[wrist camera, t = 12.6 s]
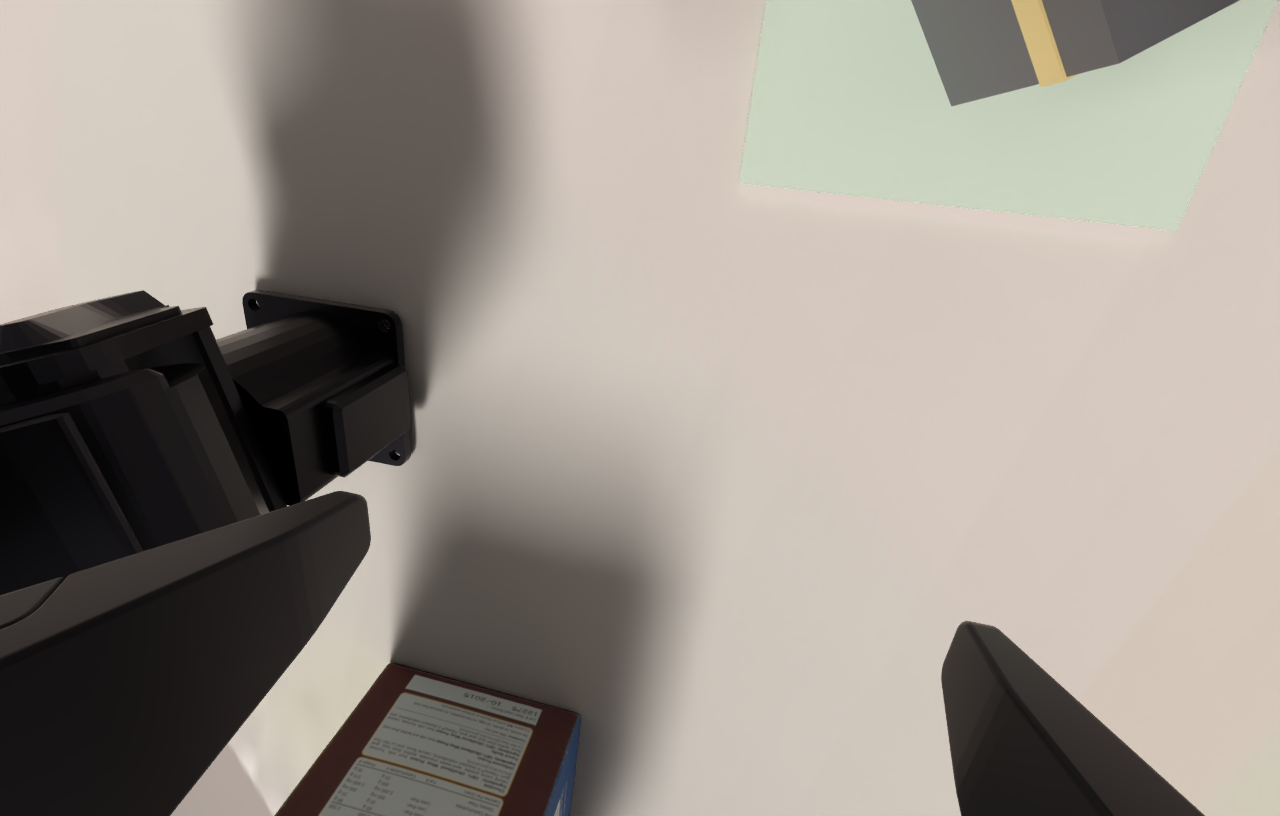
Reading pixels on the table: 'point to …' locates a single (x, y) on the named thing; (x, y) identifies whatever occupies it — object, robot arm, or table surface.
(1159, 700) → the table surface
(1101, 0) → the black box
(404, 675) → the protein box
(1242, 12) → the felt mat
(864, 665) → the table surface
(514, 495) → the table surface
